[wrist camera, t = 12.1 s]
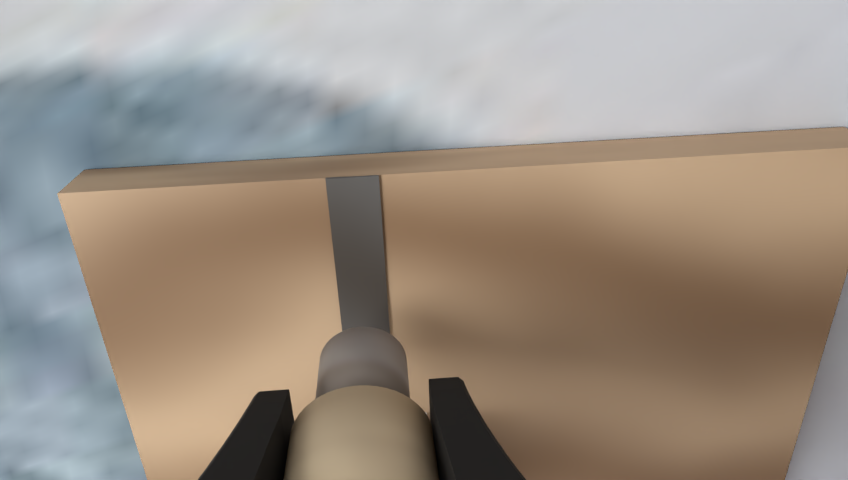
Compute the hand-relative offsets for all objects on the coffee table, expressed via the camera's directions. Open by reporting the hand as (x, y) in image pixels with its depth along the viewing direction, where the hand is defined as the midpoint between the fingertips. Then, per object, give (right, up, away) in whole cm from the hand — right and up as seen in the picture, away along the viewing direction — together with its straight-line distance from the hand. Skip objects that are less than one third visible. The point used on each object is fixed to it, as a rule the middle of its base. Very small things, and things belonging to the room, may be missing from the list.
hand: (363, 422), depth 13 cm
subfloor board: (+3, -3, +7) cm, 8 cm away
